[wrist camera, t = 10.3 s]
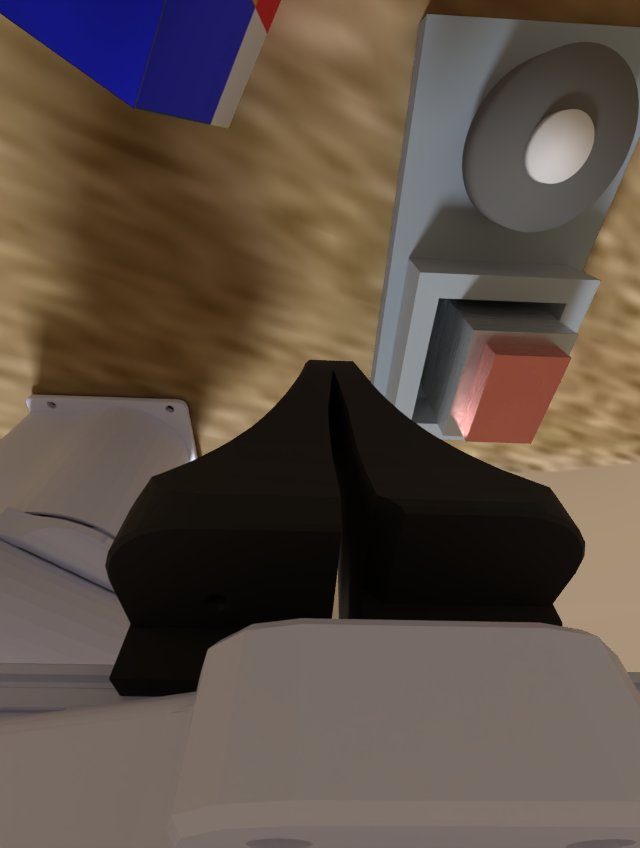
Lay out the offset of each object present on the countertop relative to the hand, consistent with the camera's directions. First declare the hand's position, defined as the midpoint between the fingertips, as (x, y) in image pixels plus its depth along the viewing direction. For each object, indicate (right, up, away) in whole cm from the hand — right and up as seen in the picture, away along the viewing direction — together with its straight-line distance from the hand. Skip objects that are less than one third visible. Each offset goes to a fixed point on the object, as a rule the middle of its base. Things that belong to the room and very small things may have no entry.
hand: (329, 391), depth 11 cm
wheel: (+8, +9, +3) cm, 13 cm away
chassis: (+8, +7, +8) cm, 13 cm away
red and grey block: (+7, +3, +9) cm, 12 cm away
